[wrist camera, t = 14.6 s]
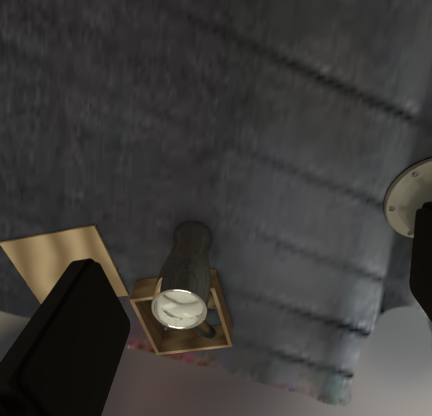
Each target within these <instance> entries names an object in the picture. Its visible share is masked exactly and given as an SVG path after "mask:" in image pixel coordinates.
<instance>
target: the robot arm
mask: <svg viewBox="0 0 432 416" xmlns="http://www.w3.org/2000/svg"><path fill="white" fill-rule="evenodd" d="M383 209H384V215H385V217H386V220H387V222H388V223H389V224H390V226H391V227H392V228H393V229H394V230H395V231H396V232H398V233H400V234H401V235H404V236H406V237H411V238H413V248H412V259H411V270H410V281H409V283H410V289H411V292H412V294H413V296H414V297H415V299H416V300H417V301H418V303H419V304H420V306H421V307H422V309H423V310H424V311H425V313H426V314H427V316H428V317H429V319H430V320H431V321H432V158H430V159H427V160H424V161H421V162H419V163H417V164H415V165H413V166H411V167H410V168H408V169H407V170H405V171H404V172H403V173H402V174H401V175H400V176H399V177H397V178H396V180H395V181H394V182H393V183H392V185H391V186H390V188H389V190H388V192H387V193H386V197H385V200H384V208H383ZM129 332H130V321H129V318H128V316H127V314H126V312H125V311H124V309H123V307H122V305H121V303H120V301H119V299H118V297H117V295H116V293H115V291H114V289H113V287H112V285H111V284H110V282H109V280H108V278H107V276H106V274H105V272H104V270H103V268H102V266H101V264H100V263H99V262H95V261H94V260H93V259H91V258H88V259H82V260H76V261H72V262H71V263H70V264H69V266H68V267H67V268H66V270H65V271H64V273H63V274H62V276H61V277H60V278H59V280H58V281H57V283H56V284H55V286H54V287H53V288H52V290H51V291H50V293H49V294H48V295H47V297H46V298H45V300H44V301H43V303H42V304H41V305H40V307H39V308H38V310H37V311H36V313H35V314H34V315H33V317H32V318H31V320H30V321H29V322H28V324H27V325H26V327H25V328H24V330H23V331H22V332H21V334H20V335H19V337H18V338H17V340H16V341H15V342H14V344H13V345H12V347H11V348H10V349H9V351H8V352H7V354H6V355H5V357H4V358H3V360H2V361H1V362H0V416H101V414H102V411H103V408H104V405H105V402H106V400H107V397H108V394H109V391H110V387H111V385H112V382H113V379H114V376H115V373H116V370H117V367H118V364H119V361H120V358H121V356H122V352H123V350H124V347H125V344H126V341H127V338H128V335H129Z"/></svg>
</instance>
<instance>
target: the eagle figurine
mask: <svg viewBox="0 0 432 416" xmlns="http://www.w3.org/2000/svg"><path fill="white" fill-rule="evenodd" d="M208 308H212V309H215V308H216V304H215V301H214V298H213V294H212V292H210V297H209V303H208ZM167 327H168V326H165V330H166V329H167ZM192 329H193V330H195V331H196V333H198V335H199V336H200V337H203V338H207V339H211V338H214V337H216V336H215V335H217V333H216V331H215V330H214V328H213V327H212V326H210V325H209V324H208V323H207V322H206V321H205V320H204V321H203V322H202V323H201V324H199V325H198V326H196V327H193V328H192Z"/></svg>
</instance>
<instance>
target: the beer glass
mask: <svg viewBox="0 0 432 416" xmlns="http://www.w3.org/2000/svg"><path fill="white" fill-rule="evenodd" d="M211 242H212V236H211V233H210V231H209V229H208V228H207V227H206V226H204V225H203V224H201V223H198V222H186V223H183V224H181V225H180V226H178V227H177V229H176V230H175V232H174V246H173V249H172V250H171V252H170V254H169V255H168V257H167V259H166V260H165V262H164V264H163V266H162V268H161V270H160V273H159V276H158V279H157V282H156V286H155V291H154V297H153V302H152V306H151V308H152V313H153V315H154V316H155V318H156V319H157V320H158V321H159V322H160V323H162V324H163V325H165V326H168V327H170V328H174V329H189V328H193V327H196V326H198V325H199V324H201V323H202V322H203V321H204V319H205V317H206V315H207V308H208V303H209V297H210V290H211V272H210V265H209V260H208V250H209V247H210V245H211Z"/></svg>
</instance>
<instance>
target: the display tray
mask: <svg viewBox="0 0 432 416" xmlns="http://www.w3.org/2000/svg"><path fill="white" fill-rule="evenodd" d="M210 272H211V290H210V291H212V294H213V298H214V301H215V304H216V307H217V310H218V313H219V316H220V320H221V323H222V325H216V326H212V327H213V328H214V330H215V331H216V333H217V335H215V336H216V337H214V338H211V339H207V338H203V337H200V336H199V335H198V333H196V331H195V330H193V329H184V330H176V331H168V332H163V330H162V328H161V325H160V323H159V321H158V320H157V319H156V318H155V316H154V315H153V313H152V308H151V303H150V301H149V300H151V299H153V297H154V291H155V286H156V282H157V279H158V277H157V278H151V279H144V280H137V281H136V284H135V286H134V289H133V291H132V294H131V297H130V299H129V300H130V302H131V304H132V306H133V308H134V310H135V312H136V314H137V316H138V318H139V320H140V322H141V324H142V326H143V328H144V330H145V332H146V334H147V336H148V338H149V340H150V342H151V344H152V347H153V349H154V351H155V353H156V354H157V355H162V354H171V353H180V352H188V351H197V350H206V349H215V348H224V347H232V323H231V319H230V316H229V313H228V309H227V306H226V302H225V299H224V296H223V292H222V289H221V285H220V282H219V279H218V275H217V272H216V269H210Z"/></svg>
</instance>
